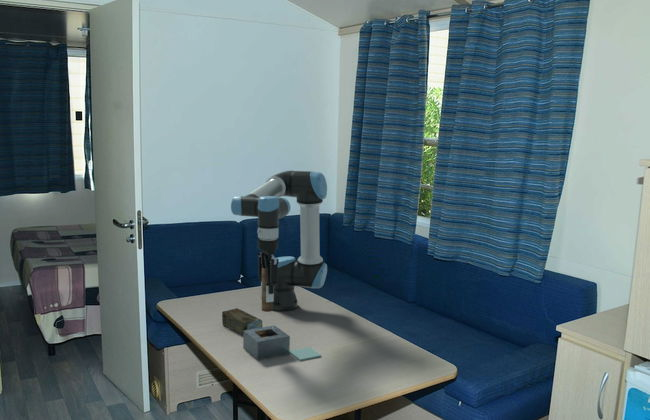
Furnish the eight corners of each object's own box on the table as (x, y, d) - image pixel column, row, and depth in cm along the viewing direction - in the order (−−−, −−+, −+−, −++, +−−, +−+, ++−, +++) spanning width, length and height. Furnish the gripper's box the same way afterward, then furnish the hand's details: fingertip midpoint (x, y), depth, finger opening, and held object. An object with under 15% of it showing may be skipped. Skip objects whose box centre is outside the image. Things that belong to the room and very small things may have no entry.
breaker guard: (274, 342, 234) (274, 325, 233) (289, 354, 223) (289, 336, 222) (243, 348, 228) (243, 330, 227) (257, 360, 217) (257, 341, 216)
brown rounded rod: (269, 307, 226) (270, 266, 224) (274, 310, 223) (274, 269, 220) (259, 309, 224) (260, 267, 222) (264, 312, 221) (264, 270, 218)
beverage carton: (246, 338, 239) (247, 322, 238) (221, 325, 253) (221, 310, 252) (263, 334, 244) (263, 318, 243) (237, 321, 258) (237, 306, 257)
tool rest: (309, 348, 230) (309, 347, 229) (321, 356, 222) (321, 355, 222) (288, 352, 225) (288, 350, 225) (300, 361, 217) (300, 359, 217)
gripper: (249, 235, 225) (248, 295, 228) (268, 243, 210) (267, 307, 214) (267, 233, 228) (266, 292, 232) (287, 242, 214) (286, 305, 218)
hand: (267, 299), depth 223 cm, fingers closed on brown rounded rod, 4 cm apart
